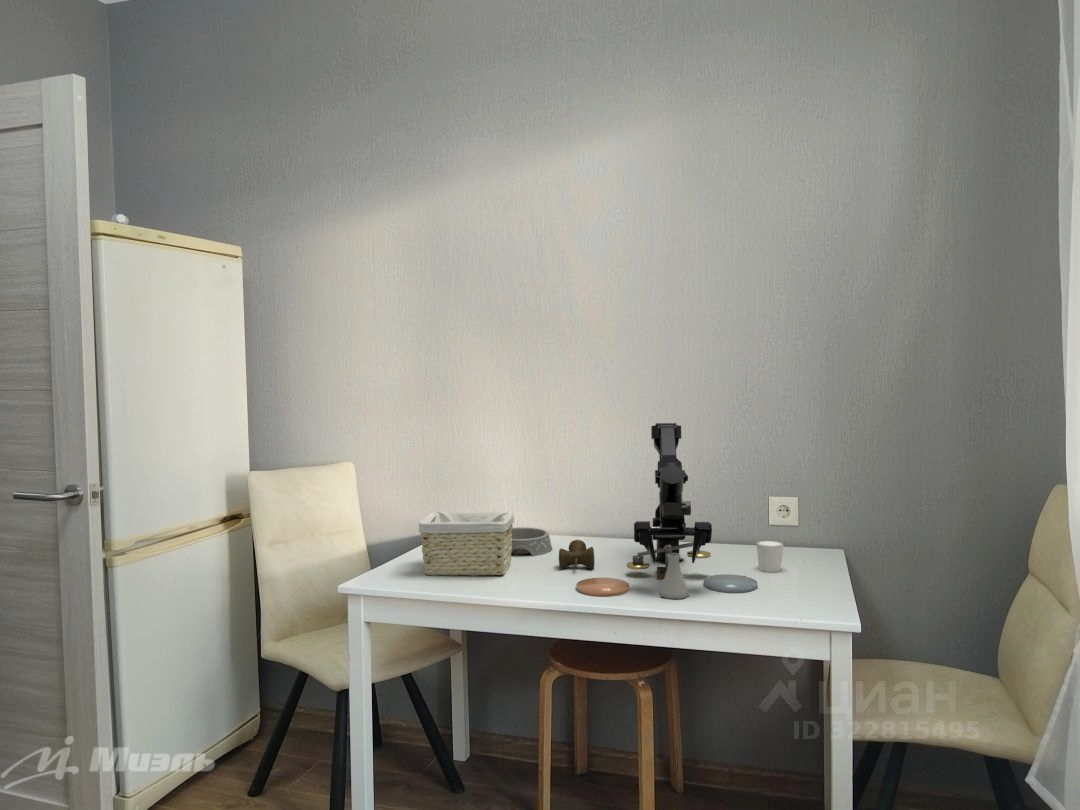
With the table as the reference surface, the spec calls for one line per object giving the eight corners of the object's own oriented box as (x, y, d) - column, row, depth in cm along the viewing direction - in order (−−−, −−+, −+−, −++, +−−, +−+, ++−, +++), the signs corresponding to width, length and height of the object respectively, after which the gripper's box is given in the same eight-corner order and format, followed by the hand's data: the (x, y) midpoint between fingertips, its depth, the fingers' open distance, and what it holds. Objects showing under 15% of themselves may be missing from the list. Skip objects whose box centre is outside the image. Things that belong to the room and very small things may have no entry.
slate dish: (693, 582, 208) (693, 578, 208) (733, 575, 213) (733, 571, 213) (726, 595, 196) (726, 591, 196) (768, 588, 202) (768, 584, 202)
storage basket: (417, 577, 217) (416, 521, 216) (432, 561, 233) (431, 509, 232) (507, 578, 215) (506, 522, 214) (516, 562, 231) (515, 510, 230)
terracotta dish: (567, 585, 206) (567, 581, 206) (611, 578, 212) (611, 575, 212) (593, 599, 195) (593, 595, 195) (639, 591, 201) (639, 587, 200)
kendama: (594, 557, 237) (594, 574, 217) (561, 558, 237) (558, 575, 217) (593, 537, 237) (594, 551, 217) (560, 538, 237) (557, 552, 217)
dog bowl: (552, 557, 237) (552, 538, 237) (488, 558, 237) (488, 539, 237) (552, 543, 254) (552, 526, 254) (492, 544, 254) (492, 527, 254)
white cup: (784, 573, 215) (784, 546, 215) (757, 572, 217) (757, 545, 216) (782, 566, 222) (782, 540, 222) (755, 565, 223) (755, 539, 223)
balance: (625, 578, 212) (625, 543, 212) (627, 570, 220) (626, 536, 220) (711, 580, 209) (711, 545, 208) (710, 572, 217) (709, 538, 216)
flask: (691, 592, 199) (691, 551, 199) (686, 601, 193) (686, 558, 192) (661, 590, 202) (661, 549, 201) (655, 598, 195) (655, 556, 194)
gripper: (633, 488, 202) (634, 543, 192) (711, 489, 200) (715, 544, 190) (633, 514, 210) (634, 568, 200) (708, 515, 208) (712, 569, 198)
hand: (673, 562), depth 197 cm, fingers open, 9 cm apart
